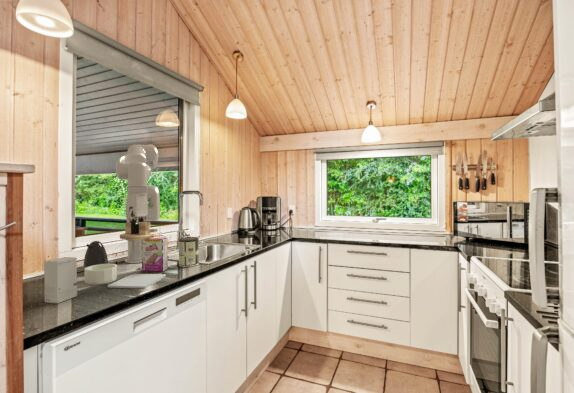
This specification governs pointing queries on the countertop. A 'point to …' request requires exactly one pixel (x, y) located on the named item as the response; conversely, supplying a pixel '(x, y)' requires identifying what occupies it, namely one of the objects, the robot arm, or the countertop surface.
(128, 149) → the robot arm
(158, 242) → the candy bar box
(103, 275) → the bowl
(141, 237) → the lid
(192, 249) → the coffee can
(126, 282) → the mat
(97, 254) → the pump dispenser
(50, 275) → the skincare box
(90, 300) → the countertop surface
